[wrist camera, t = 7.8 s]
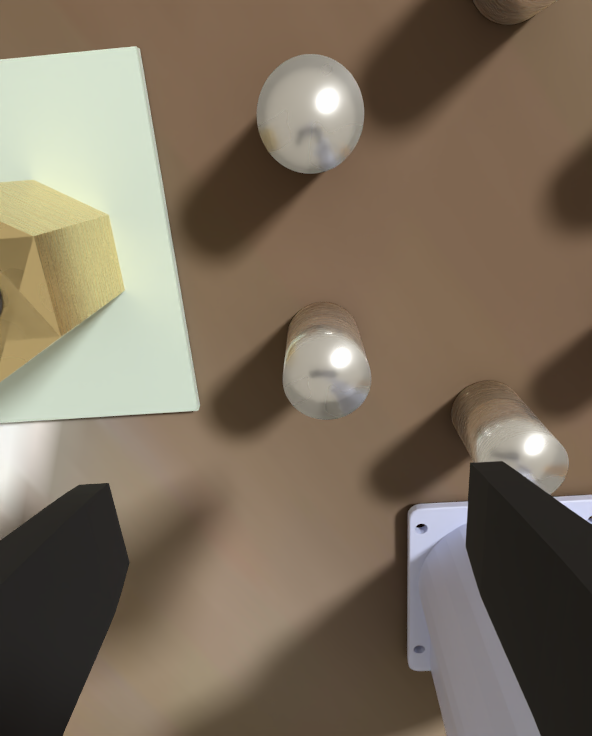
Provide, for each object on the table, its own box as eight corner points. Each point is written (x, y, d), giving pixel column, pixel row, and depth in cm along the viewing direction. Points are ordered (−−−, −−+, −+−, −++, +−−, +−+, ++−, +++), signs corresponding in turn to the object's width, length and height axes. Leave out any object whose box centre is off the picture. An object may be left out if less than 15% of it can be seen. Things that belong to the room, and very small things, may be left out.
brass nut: (132, 324, 18) (72, 382, 14) (13, 334, 18) (-87, 393, 14) (100, 173, 16) (16, 179, 12) (-33, 185, 17) (-167, 196, 12)
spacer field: (675, 429, 20) (759, 491, 16) (297, 451, 21) (295, 515, 17) (800, -118, 14) (984, -221, 10) (251, -59, 14) (231, -134, 11)
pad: (199, 405, 20) (197, 410, 20) (1, 418, 20) (-5, 423, 20) (140, 49, 15) (135, 46, 15) (-115, 74, 16) (-125, 72, 15)
